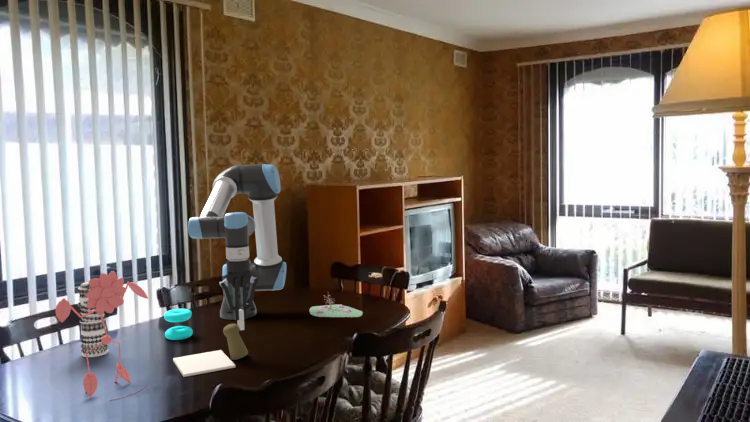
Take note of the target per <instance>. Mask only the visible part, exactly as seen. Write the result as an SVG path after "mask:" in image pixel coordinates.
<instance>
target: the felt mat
mask: <svg viewBox="0 0 750 422" xmlns="http://www.w3.org/2000/svg"><path fill="white" fill-rule="evenodd" d="M172 361H173V363H174V364H175V366H176V367H177V369H178V370H179V372H180V374H181V376H183V378H185V377H191V376H196V375H201V374H208V373H212V372H213V373H214V372H218V371H223V370H228V369H234V368H236V364H235V363H234V361H232V359H231V358H229V356H227V355H226V353H224V351H223V350H222V349H219V350H212V351H206V352H201V353H194V354H189V355H183V356H179V357H173V358H172Z"/></svg>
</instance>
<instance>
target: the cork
mask: <svg viewBox="0 0 750 422" xmlns="http://www.w3.org/2000/svg"><path fill="white" fill-rule="evenodd" d="M239 332H240V330H239V327H238V323H229V324H226V325H225V326H224V327H223V330H222V333H223V335H224V336H225V338H226V340H227V347H228V351H229V352H228V353H229V356H230V360H231V361H232V360H233V361H236V360H239V359H242V358H244V357H246V356H247V355H248V354H249V351H248V349H247V347H246V345H245V343H244V341H243V339H242V338H243V337H241V335H240V333H239Z"/></svg>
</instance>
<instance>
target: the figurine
mask: <svg viewBox="0 0 750 422" xmlns="http://www.w3.org/2000/svg"><path fill="white" fill-rule="evenodd" d="M88 282H89V285H90V286H91V288H92V289H91V290H89V291H88V293H87V294H86V298H89V299H88V301H87V308H88V309H91V308H93V307H96V309H95V310H93V311H91V312H89V313H87V314H85V315H83V316H81V315H80V314H79V313H80V312H79V311H78V310H77V309H75V308H74V307H73V305H71V304H70V301H68V299H66V298H62V299H61V300H60V301H59V302H58V303H57V304H56V306H55V309H54V310H55V317H56V318H57V319H58V320H59V322H61V323H64V322H65V321H66V320H67V319H68V317H69V316H70V314H71V311H73V312H74V314H76V315H77V317H79V318H80V317H81V318H83V317H85V316H87V315H89V314H91V313H93V312H95V311H96V312H97V314H98V315H101V320H102V324H103V327H104V330H105V334H106V335H105V336H103V337H102V339H101V342H102V343H100V344H99V345H101V344H105V345H107V346H108V345H109V344H111V342H112V343H115V344H118V359H119V360H118V361H119V362H118V363H116V366H115V369H116V375H115V379H114V383H116V382H117V380H118V378H119V377H120V378H121V379H123V380H124V381H125V382H127V383H131V378H130V374H129V371H128V370H127V368H126V367H125V366H123V365H122V361H121V345H120V344H121V343H120V342H119V341H116V340H113V339H112V336H110V335H108V332H107V326H106V322H105V323H104V320H103V315H102V314H103V313H104V311H106V313H107V314H112V313H113V312H114V310H115V308H119V307H121V306H123V304H124V296H125V294H126V292H127V289H128V287H129V288H130V289H131V291H132V292H133V293H134V294H135V295H137V296H139V297H140V298H144V299H147V300H148V299H149V297H148V295H147V293H146V292H145V290H143V288H142V287H141V286H139V285H138V284H136V283H135V282H131V281H126V286H124V283H125V279H124V277H120V278H118V277H117V273H116V272H115V270H111V271H110V272H109V273H108V274H106V273H104V272H103V273H100V275H99V278H97V277H95V278H90V279H89V280H88ZM104 314H105V313H104ZM99 345H97V346H95V347H94V348H96V347H98V346H99ZM94 348H92V349H90V350H89V351H91V350H93V349H94ZM89 351H87V352H86V357H85V358H86V363H87V370H88V372H87V373H85V375H84V376H83V377H84V378H83V381H82V382H83V383H82V385H83V389H84V391H85V393H86V394H87V395H88V396H89V397H90V398H91V397H92V396H94V393H95V392H96V390H97V388H98V379H97V376H96V374H95V373H93V372H92V371H91V368H90V363H89V357H88V355H87V353H88V352H89ZM148 384H149V383H147V384H146V385H145V386H144V387H143V388H142V389H140V390H138V391H137V392H136V391H135V392H134V393H131V394H129V395H126V396H123V397H119V398H114V399H110V400H109V402H111V401H116V400H119V399H124V398H126V397H127V398H128V397H129V396H130V397H132V396H133V395H135V394H137V393H139V392H141V391H142V390H144V389H146V387H148Z"/></svg>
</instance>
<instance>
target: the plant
mask: <svg viewBox="0 0 750 422" xmlns="http://www.w3.org/2000/svg"><path fill="white" fill-rule="evenodd" d="M327 294H328V295H327V296H326V295H325V294H324V295H322V296H323V297H324V299H323V301H325V300H326V301H325V305H315V306H311V307H310V308H309V314H310V315H311V316H313V317H319V318H360V317H362V316H363V313H364V312H363V311H362V310H359V309H356V308H354V307H351V306H349V305H348V306H347V305H343V304H335V302H336V300H335V299H332V297H331V294H329V291H327ZM325 298H326V299H325Z"/></svg>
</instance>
